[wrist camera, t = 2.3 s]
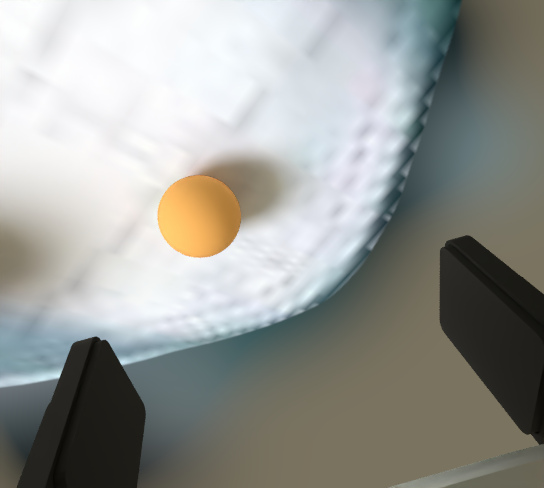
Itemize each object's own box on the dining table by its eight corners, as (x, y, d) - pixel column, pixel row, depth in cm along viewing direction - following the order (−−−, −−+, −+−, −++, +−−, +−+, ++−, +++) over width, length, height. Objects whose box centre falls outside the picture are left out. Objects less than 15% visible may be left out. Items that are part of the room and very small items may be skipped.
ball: (185, 244, 34) (184, 286, 29) (144, 185, 31) (136, 220, 26) (248, 213, 34) (259, 250, 29) (214, 150, 31) (219, 178, 26)
